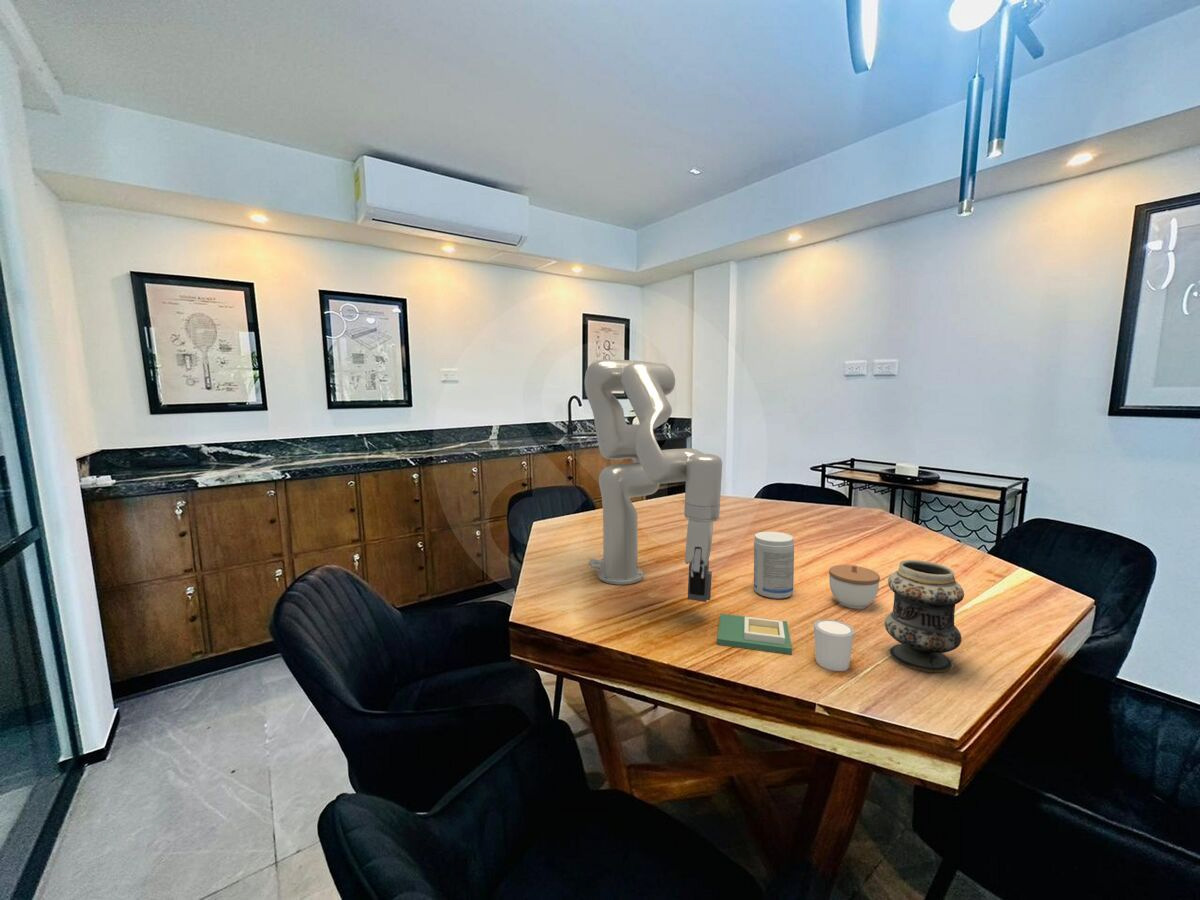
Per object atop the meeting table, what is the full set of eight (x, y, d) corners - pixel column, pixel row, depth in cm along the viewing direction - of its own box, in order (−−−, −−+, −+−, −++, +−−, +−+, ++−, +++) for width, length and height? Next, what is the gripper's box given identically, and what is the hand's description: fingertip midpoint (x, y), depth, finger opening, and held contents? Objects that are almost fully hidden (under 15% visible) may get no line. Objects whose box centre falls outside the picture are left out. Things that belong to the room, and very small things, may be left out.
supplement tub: (801, 594, 122) (803, 537, 121) (777, 603, 117) (778, 543, 116) (768, 582, 130) (770, 528, 129) (745, 590, 125) (746, 534, 124)
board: (717, 644, 98) (717, 632, 98) (720, 618, 109) (720, 607, 109) (791, 654, 94) (792, 641, 93) (786, 626, 105) (787, 615, 105)
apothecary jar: (969, 662, 90) (976, 568, 89) (943, 684, 84) (950, 583, 82) (899, 637, 100) (904, 552, 98) (870, 655, 93) (875, 564, 91)
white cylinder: (805, 654, 94) (806, 619, 93) (839, 652, 94) (840, 617, 94) (824, 674, 87) (826, 636, 86) (861, 672, 88) (863, 635, 87)
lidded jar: (837, 591, 124) (839, 555, 123) (884, 603, 117) (886, 565, 116) (820, 603, 117) (822, 565, 116) (869, 617, 109) (871, 577, 108)
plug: (687, 599, 108) (689, 565, 107) (689, 591, 112) (691, 558, 110) (709, 602, 106) (711, 567, 105) (710, 594, 110) (712, 561, 109)
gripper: (689, 500, 115) (685, 573, 118) (679, 519, 99) (675, 603, 102) (721, 502, 113) (717, 577, 116) (717, 522, 97) (712, 609, 100)
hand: (697, 589), depth 109 cm, fingers closed on plug, 4 cm apart
